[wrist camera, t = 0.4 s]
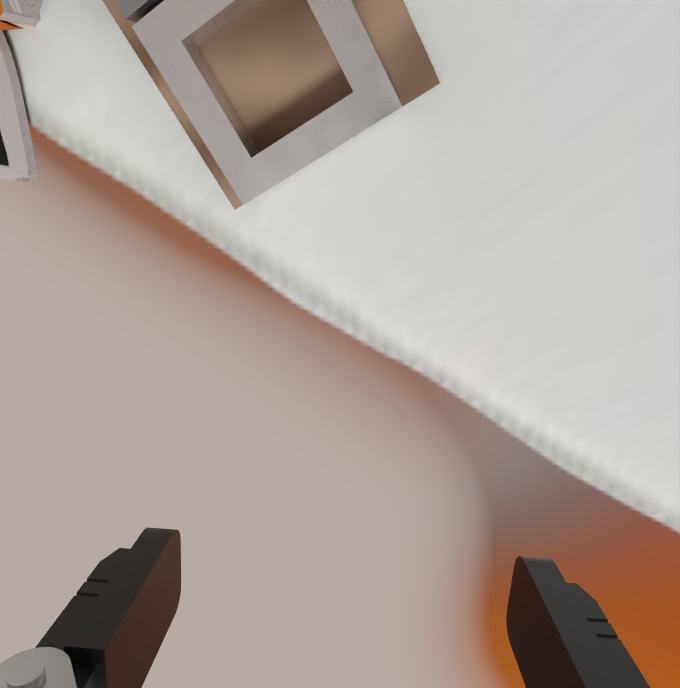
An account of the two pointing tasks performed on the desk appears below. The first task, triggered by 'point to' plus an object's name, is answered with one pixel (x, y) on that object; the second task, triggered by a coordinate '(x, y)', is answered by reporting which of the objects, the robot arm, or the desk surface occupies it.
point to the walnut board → (290, 67)
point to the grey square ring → (136, 8)
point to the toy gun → (15, 98)
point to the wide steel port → (221, 118)
